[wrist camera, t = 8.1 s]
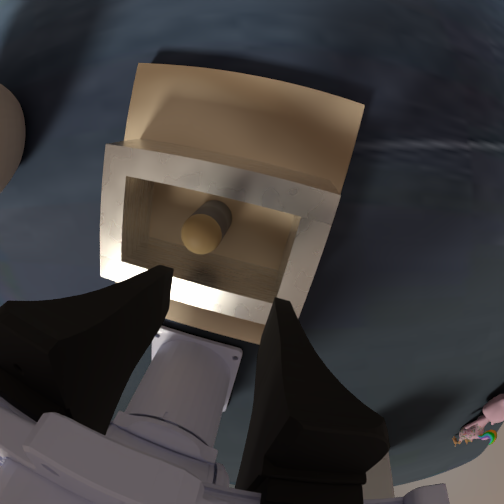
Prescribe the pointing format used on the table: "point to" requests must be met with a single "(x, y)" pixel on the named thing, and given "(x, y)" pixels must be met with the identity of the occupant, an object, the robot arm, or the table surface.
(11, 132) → the vase
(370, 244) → the table surface
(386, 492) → the supplement box
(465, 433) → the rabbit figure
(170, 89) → the board
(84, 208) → the table surface
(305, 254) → the beige hollow boxy piece
